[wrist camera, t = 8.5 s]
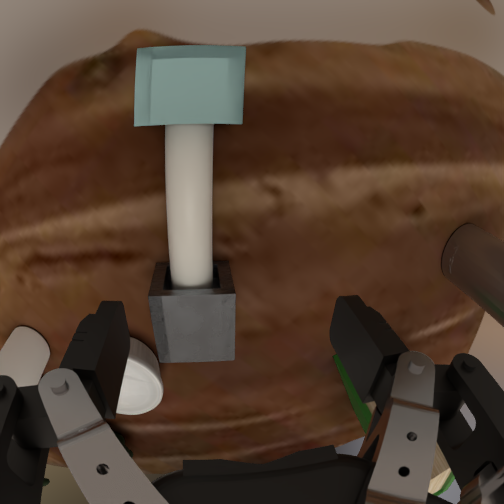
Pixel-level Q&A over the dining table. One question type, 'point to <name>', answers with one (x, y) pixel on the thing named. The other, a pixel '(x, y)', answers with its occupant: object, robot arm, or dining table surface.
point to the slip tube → (189, 204)
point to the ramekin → (140, 381)
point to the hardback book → (441, 469)
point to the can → (24, 356)
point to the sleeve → (193, 317)
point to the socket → (189, 85)
